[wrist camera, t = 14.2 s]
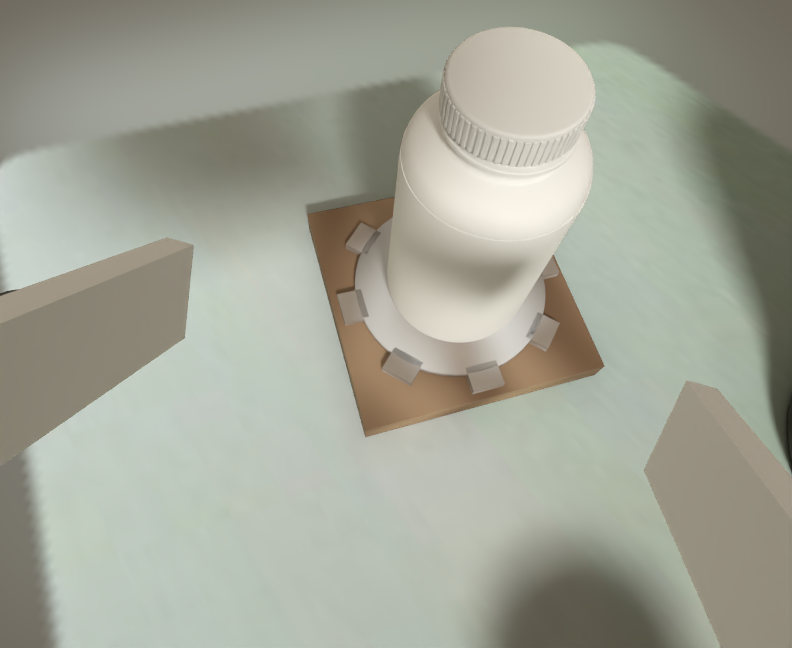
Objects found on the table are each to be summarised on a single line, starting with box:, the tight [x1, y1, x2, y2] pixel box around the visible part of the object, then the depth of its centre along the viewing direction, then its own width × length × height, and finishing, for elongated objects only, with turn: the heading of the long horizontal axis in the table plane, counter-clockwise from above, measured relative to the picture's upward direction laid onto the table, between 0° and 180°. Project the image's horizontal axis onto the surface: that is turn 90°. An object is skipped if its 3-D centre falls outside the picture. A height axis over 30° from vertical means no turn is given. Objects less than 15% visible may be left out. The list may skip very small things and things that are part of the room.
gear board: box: [307, 197, 604, 437], centre depth 34 cm, size 14×14×2 cm
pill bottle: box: [387, 27, 596, 343], centre depth 26 cm, size 8×8×15 cm
